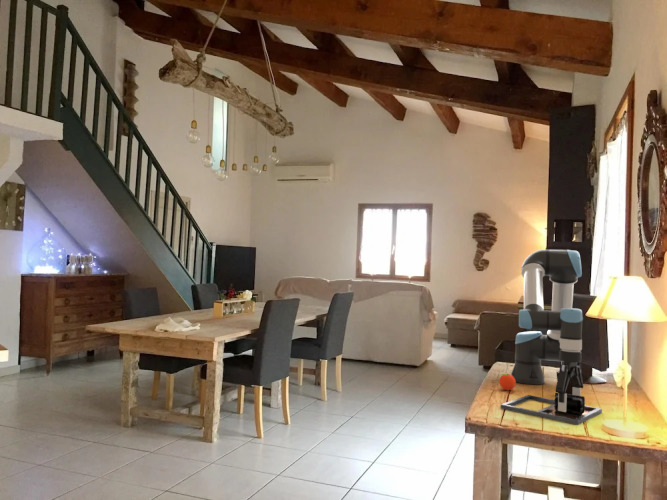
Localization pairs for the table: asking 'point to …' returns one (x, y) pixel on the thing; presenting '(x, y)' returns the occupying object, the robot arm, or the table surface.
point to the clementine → (507, 381)
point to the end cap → (572, 405)
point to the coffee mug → (570, 385)
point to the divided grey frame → (550, 410)
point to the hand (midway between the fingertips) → (569, 408)
